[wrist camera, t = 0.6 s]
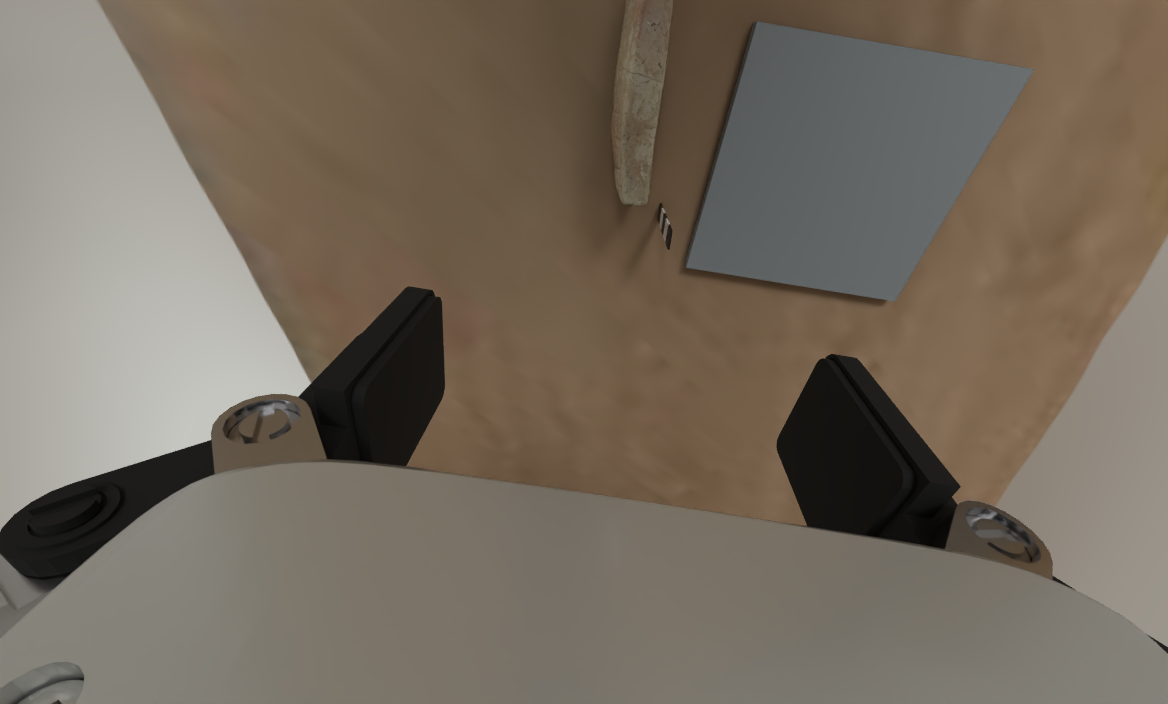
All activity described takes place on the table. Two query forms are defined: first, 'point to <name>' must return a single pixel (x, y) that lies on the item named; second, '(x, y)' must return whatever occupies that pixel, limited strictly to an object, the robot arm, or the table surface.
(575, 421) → the table surface
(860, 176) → the mat
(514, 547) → the robot arm
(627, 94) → the cuneiform tablet
